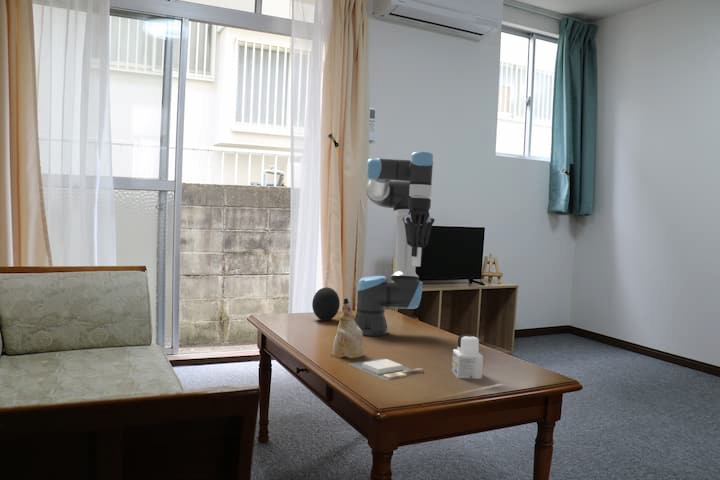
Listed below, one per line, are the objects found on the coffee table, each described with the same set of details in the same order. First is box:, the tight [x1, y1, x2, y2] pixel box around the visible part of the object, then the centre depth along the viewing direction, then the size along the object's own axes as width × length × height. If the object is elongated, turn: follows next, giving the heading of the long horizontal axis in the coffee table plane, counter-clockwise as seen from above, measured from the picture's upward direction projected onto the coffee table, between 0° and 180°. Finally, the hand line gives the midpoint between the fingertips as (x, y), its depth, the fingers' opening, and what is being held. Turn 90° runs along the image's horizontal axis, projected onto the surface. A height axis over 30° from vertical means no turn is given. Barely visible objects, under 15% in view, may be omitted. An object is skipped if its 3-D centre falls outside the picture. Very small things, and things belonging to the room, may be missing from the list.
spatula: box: [383, 367, 425, 380], centre depth 174 cm, size 15×3×1 cm, turn 126°
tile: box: [362, 358, 404, 374], centre depth 179 cm, size 2×8×10 cm
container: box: [451, 334, 484, 380], centre depth 177 cm, size 8×8×13 cm
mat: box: [348, 357, 424, 381], centre depth 180 cm, size 15×20×1 cm
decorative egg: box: [311, 287, 341, 322], centre depth 255 cm, size 12×12×15 cm
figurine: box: [330, 297, 365, 359], centre depth 195 cm, size 12×10×20 cm
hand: (416, 266), depth 194 cm, fingers closed
